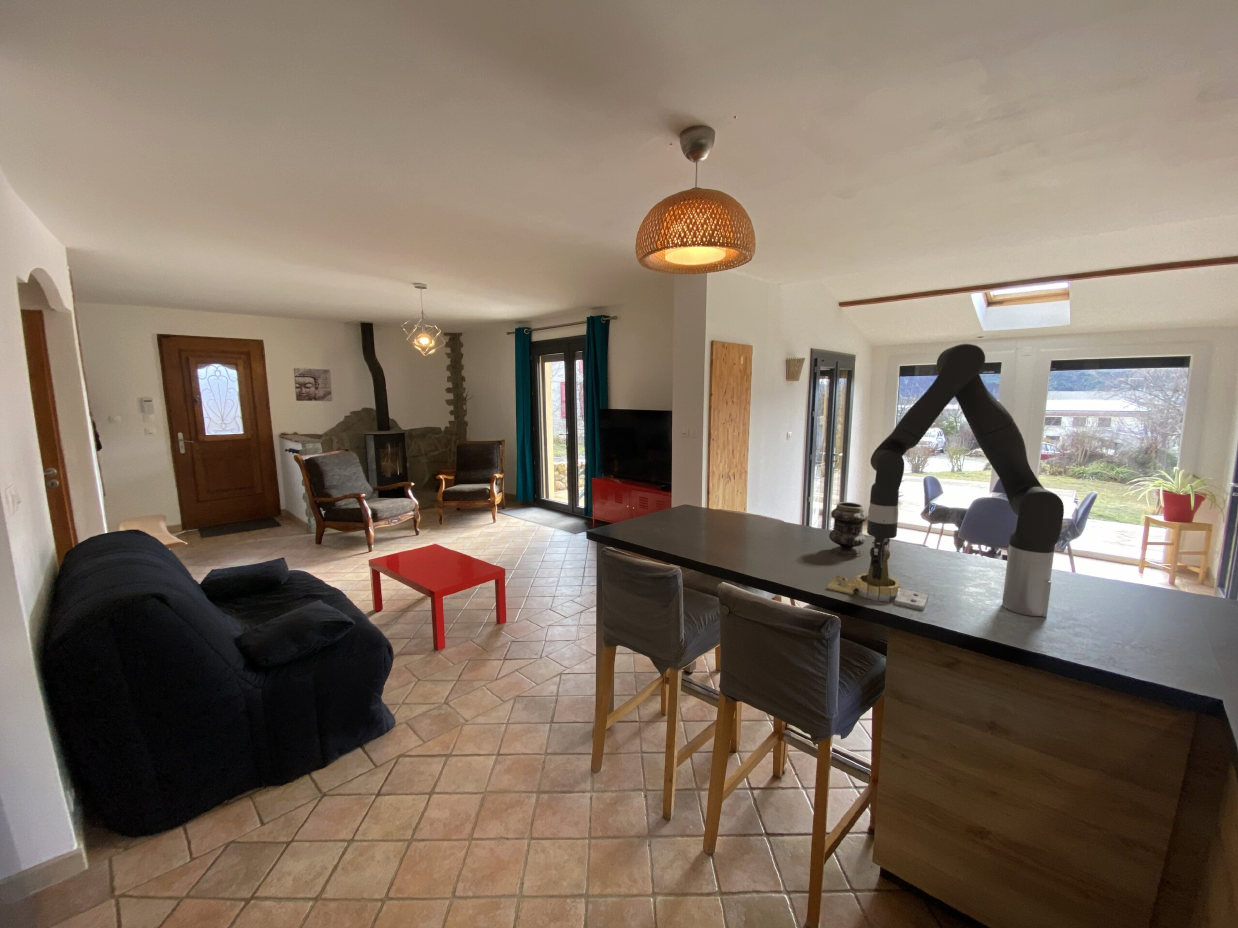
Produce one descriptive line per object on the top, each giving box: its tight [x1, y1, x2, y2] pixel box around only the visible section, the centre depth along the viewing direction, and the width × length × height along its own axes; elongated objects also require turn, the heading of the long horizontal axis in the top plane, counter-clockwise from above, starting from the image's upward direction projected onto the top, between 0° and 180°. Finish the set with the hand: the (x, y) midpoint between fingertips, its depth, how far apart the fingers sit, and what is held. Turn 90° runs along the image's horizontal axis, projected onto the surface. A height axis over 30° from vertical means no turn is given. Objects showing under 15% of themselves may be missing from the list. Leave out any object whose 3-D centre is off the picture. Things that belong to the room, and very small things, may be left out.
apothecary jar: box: [828, 501, 868, 557], centre depth 180 cm, size 12×12×18 cm
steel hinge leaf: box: [855, 581, 929, 612], centre depth 142 cm, size 18×11×2 cm, turn 52°
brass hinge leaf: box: [827, 572, 901, 596], centre depth 146 cm, size 18×11×4 cm, turn 52°
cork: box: [866, 548, 891, 587], centre depth 143 cm, size 6×6×11 cm
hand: (878, 576), depth 143 cm, fingers closed on cork, 4 cm apart
